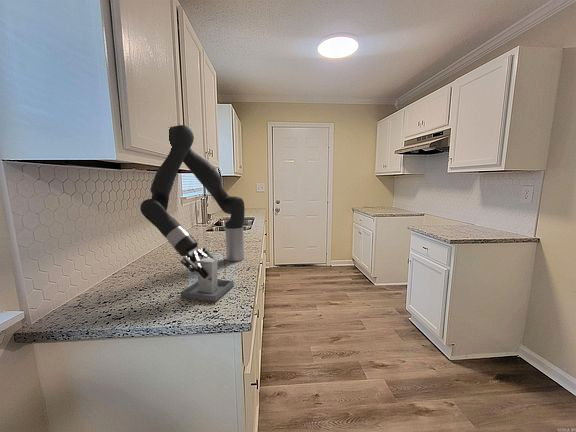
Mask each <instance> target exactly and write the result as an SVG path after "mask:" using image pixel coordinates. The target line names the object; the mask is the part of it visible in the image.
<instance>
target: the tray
mask: <svg viewBox="0 0 576 432" xmlns="http://www.w3.org/2000/svg"><path fill="white" fill-rule="evenodd" d="M217 283H218V289H217V290H216V291H214V292H213V293H206V292H200V291H198V280H196V281H195V282H194V283H192V284H190V285H189V286H187V287H186V288H185V289H183V290H182V291H180V294H179V295H180V299H181V300H182V299H183V300H190V301H198V302H205V303H206V302H207V303H215V304H216V303H217V302H219V301H220V300H221V299H222V298H223V297H224V296H226V294H227V293H229V292H230V291H231V290H232V289H233V288H234V285H235V283H234V280H229V279H220V278H219V279H218V280H217Z"/></svg>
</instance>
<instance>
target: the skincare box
mask: <svg viewBox="0 0 576 432" xmlns="http://www.w3.org/2000/svg"><path fill="white" fill-rule="evenodd" d="M218 261H219V260H218V258H210V257H209V258H202V259H200V265H201V268H202V267H203V269H204V270H205V271H206V272H207V273H208V274H209V275H208V276H207V277H206V278H205V279H204V278H203V277H202V276H201V275H200V274H199V273H198V272H197V275H198V276H197V277H198V278H197V281H198V291H200V292H206V293H213V292H214V291H216V290H217V289H218V283H217V280H218V269H217V268H218Z"/></svg>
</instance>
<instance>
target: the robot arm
mask: <svg viewBox="0 0 576 432" xmlns="http://www.w3.org/2000/svg"><path fill="white" fill-rule="evenodd" d="M169 127H170V129H169V141H170V144H171V146H172V148H171V150H170V151H169V153H168V154H167V157H166V158H165V160H164V161H163V162H162V164H161V165H160V166H159V168H158V169H157V171H156V173H155V175H154V178H153V179H152V183H151V186H150V193H151V198H147V199H144V200H143V201H142V202H141V203H140V207H139V208H140V212H141V214H142V216H143V217H144V218H146V219H147V221H149V222H150V223H151V224H152V225H153V226H154V227H155V228H156V229H157V230H158V231H159V232H160V234H161V235H163V237H164V238H165V239H166V240H167V242H168V243H169V245H171V247H172V248H173V249H174V250H175V251H176V252H177V253H178V255H179V256H181V257H183V258H181V260H180V263H181V264H182V266H183V265H184V266H185V268H186V269H188V271H190V272H191V273H195V272H196V273H197V274H198V273H199V274H200V275H201V276H202V277H203V278H204V279H205V278H206V277H207V276H208V275H209V274H208V273H207V272H206V271H205V270H204V269H203V267H202V268H201V265H200V259H202V258H213V259H215V258H214V256H213V254H212V253H211V252H210V251H209V250H208V248H207V247H206V246H204V247H203V248H200V247H199V246H198V241H197V240H196V239H195V238H194V237H193V236H192V235H191V234H190V233H189V232H188V230H186V229H185V227H184V226H182V225H181V224H180V223H179V222H178V221H177V220H176V219H175V218H174V217H172V216H171V214H169V213H168V212H167V210H168V208H169V207H168V205H169V200H170V194H171V192H172V189H173V186H174V183H175V180H176V177H177V174H178V172H179V170H180V169H181V168H180V167H181V166H182V164H183V163H184V165H185V166H186V167H187V168H188V169H189V170H190V172H191V173H192V174H193V175H194V176H195V178H196V179H197V180H198V182H200V184H201V185H202V186H203V188H205V189H206V190H207V192H208V193H209V194H210V196H211V197H213V199H214V200H215V202H216V203H217V204H218V206H219V208H220V210H222V212H223V213H225V214H228V215H230V219H229V220H227V221H225V223H224V228H225V230H224V231H225V233H224V234H225V249H226V253H225V254H226V256H225V257H226V261H228V262H239V261H242V260H244V259H245V245H244V244H245V240H244V223H245V209H246V208H245V201H244V200H243V198H242V197H241V196H231V195H229V194H228V193H227V191H226V190H224V188H223V183H222V179H221V175H220V173H219V172H218V171H217V170H216V168H215V166H214V165H213V164H212V163H211V162H209V161H208V160H207V159H205V158H204V157H202V156H200V155H199V154H198V153H197V152H196V151H194V150H193V149H192V148H191V147H192V145H193V144H194V140H195V138H194V132H193V131H192V129H191V128H190V127H189V126H187V125H185V124H183V125H182V124H180V125H179V124H178V125H174V126H169ZM217 270H219V268H218V267H217Z"/></svg>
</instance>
